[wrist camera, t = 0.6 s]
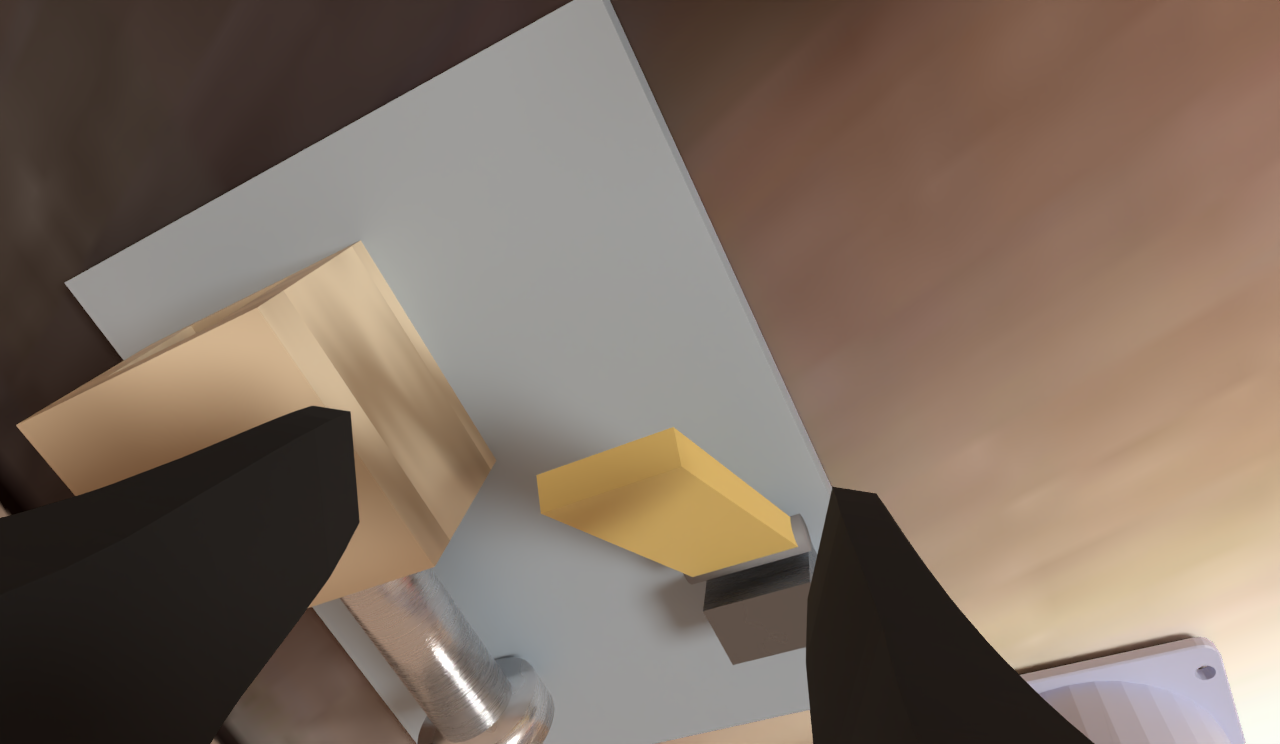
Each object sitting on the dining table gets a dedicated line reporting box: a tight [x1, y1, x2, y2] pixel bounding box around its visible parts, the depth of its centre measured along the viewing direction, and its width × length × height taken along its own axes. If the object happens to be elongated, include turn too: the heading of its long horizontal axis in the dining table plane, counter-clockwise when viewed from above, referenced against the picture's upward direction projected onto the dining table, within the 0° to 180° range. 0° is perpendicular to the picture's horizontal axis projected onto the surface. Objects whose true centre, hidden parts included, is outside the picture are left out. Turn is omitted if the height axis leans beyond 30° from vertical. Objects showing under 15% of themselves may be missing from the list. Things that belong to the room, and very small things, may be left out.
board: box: [65, 0, 832, 744], centre depth 24 cm, size 21×17×1 cm
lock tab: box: [536, 427, 812, 585], centre depth 19 cm, size 8×3×1 cm
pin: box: [340, 568, 555, 744], centre depth 23 cm, size 12×4×4 cm, turn 26°
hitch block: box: [16, 240, 496, 608], centre depth 21 cm, size 7×8×5 cm
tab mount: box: [703, 542, 817, 665], centre depth 23 cm, size 2×3×2 cm, turn 116°
